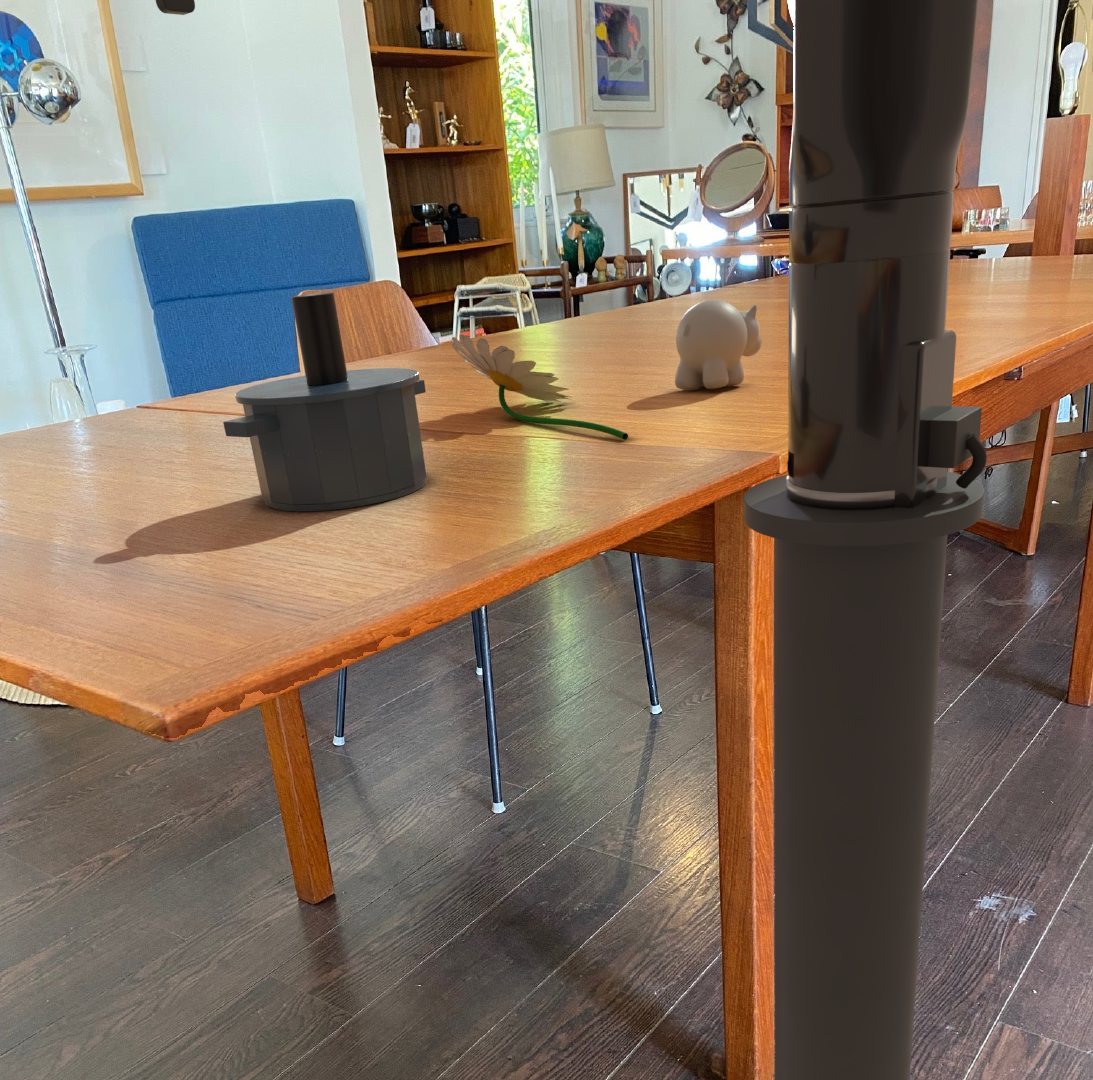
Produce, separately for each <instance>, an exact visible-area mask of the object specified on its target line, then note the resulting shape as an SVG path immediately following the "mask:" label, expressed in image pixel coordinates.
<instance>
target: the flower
mask: <svg viewBox="0 0 1093 1080" xmlns="http://www.w3.org/2000/svg"><path fill="white" fill-rule="evenodd" d="M451 340H452V342H453V343H452V344H451V347H452V348H453V350H455V352H456V353H457V354H458V355H459V357H461V358H463V360H464V362H466V363H467V364H468V365H469V366H470V367H471V368H473V369H475V371H476V372H477V373H479V374H480V375H482V376H484V377H486V378H488V379H489V380H492V382H493V383H494V384H495V385H496V386H498V400H499V403H500V406H501V408H502V410H503V411H504V412H505V414H507V415H508V416H510V417H511V418H513V419H515V420H517V421H520V422H525V423H530V424H540V425H552V426H553V425H555V426H563V427H564V426H565V427H574V428H580V429H581V428H582V429H587V430H593V431H597V432H601V433H605V434H608V435H611V436H613V437H616V438H619V439H620V440H621V439H622V440H624V441H625V440H628V439H629V434H628V433H627V432H625V431H622V430H620V429H617V428H613V427H610V426H607V425H603V424H600V423H595V422H589V421H585V420H577V419H567V418H556V417H554V418H553V417H539V416H530V415H524V414H521V413H518V412H516V411H514V410H513V409H511V408H510V406H509V405H508V403H507V401H506V398H505V397H506V396H505V390H506V391H508V392H514V393H516V394H520V395H523V396H525V397H527V398H530V399H535V400H539V401H543V402H546V403H549V402H550V403H554V402H557V403H558V402H559V403H564V404H566V401H562V400H569V398H570V401H571V400H572V398H571V396H569V395H566V394H562V393H560V392H564V391H569V390H570V389H569V388H567V387H563V386H557V385H553V384H552V383H555V382H557V381H558V380H559V377H556V376H555V373H552V372H542V371H541V372H540V371H532V370H534V368H535V367H536V365H537V362H536V361H534V360H522V361H515V362H514V359H515V358H516V357H515V356H516V355H515V351H514V350H512V349H509V348H508V346H505V345H501V346H497V347H496V348H495V349H493V350H492V351H491V352H490V345H489V342H488V340H487V339H486V338H479V339H478V341H477V342H476V348H475V345H474V342H473V341H472V338H471V337H470V336H469V335H467V334H459V340H458V339H457V338H456V337H455V336H452V338H451Z"/></svg>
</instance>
